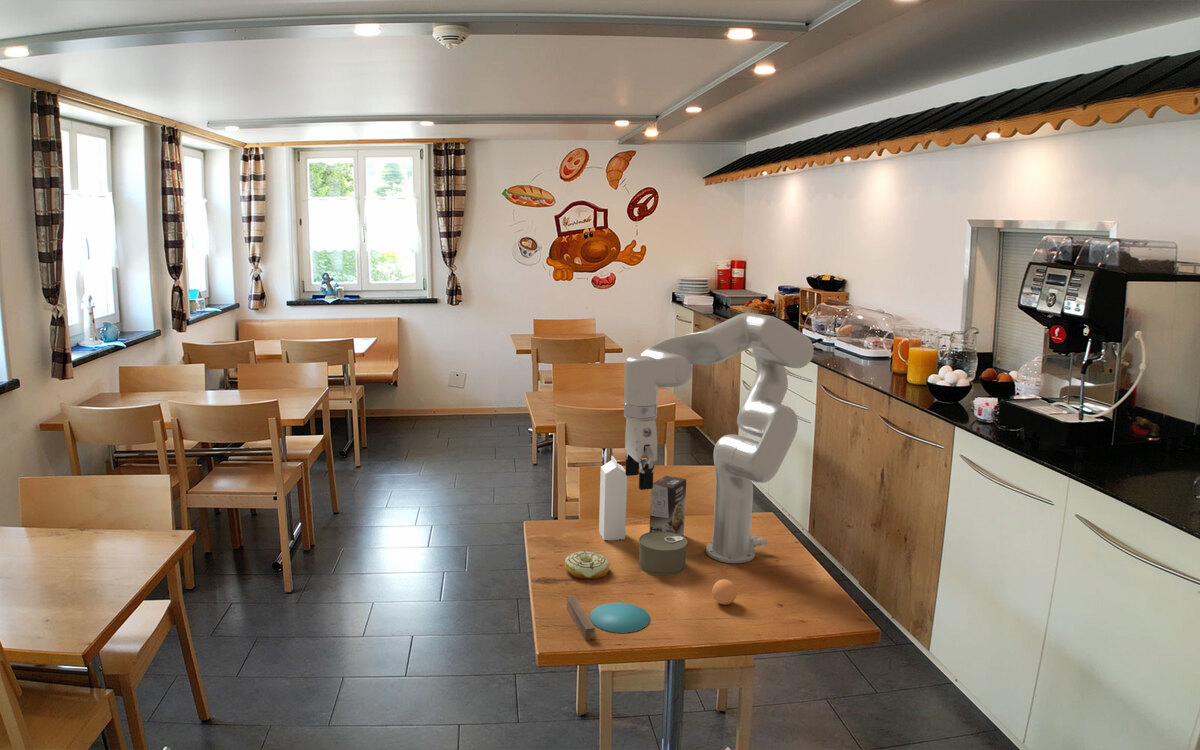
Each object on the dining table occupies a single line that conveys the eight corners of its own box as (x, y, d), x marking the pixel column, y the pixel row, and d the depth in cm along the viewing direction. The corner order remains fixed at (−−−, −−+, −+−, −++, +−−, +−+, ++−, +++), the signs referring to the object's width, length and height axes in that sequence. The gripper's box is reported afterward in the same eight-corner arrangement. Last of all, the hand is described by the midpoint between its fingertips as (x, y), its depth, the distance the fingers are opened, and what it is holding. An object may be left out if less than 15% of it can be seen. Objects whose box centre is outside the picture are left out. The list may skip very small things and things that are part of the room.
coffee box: (669, 546, 213) (672, 488, 210) (648, 540, 217) (650, 483, 213) (684, 535, 221) (687, 478, 218) (663, 529, 224) (666, 474, 221)
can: (629, 560, 204) (630, 534, 203) (671, 553, 209) (672, 528, 208) (651, 580, 194) (653, 553, 192) (695, 572, 198) (696, 546, 197)
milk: (619, 531, 223) (622, 454, 218) (625, 539, 217) (628, 461, 213) (598, 532, 221) (600, 455, 217) (603, 541, 215) (605, 461, 211)
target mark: (637, 600, 183) (637, 599, 183) (659, 628, 171) (659, 627, 171) (582, 607, 179) (582, 606, 179) (600, 636, 167) (600, 635, 167)
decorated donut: (592, 585, 190) (592, 571, 189) (556, 573, 196) (556, 559, 195) (616, 570, 199) (617, 556, 198) (581, 559, 205) (582, 545, 204)
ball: (729, 596, 186) (730, 573, 185) (740, 607, 181) (741, 584, 180) (707, 599, 185) (708, 576, 183) (718, 610, 179) (719, 587, 178)
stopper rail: (575, 607, 179) (575, 597, 179) (594, 639, 166) (595, 627, 166) (566, 608, 178) (566, 598, 178) (585, 640, 165) (585, 629, 165)
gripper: (669, 419, 176) (667, 493, 180) (643, 400, 193) (641, 468, 196) (637, 421, 174) (635, 496, 178) (613, 402, 190) (612, 471, 194)
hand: (638, 481), depth 187 cm, fingers open, 9 cm apart
